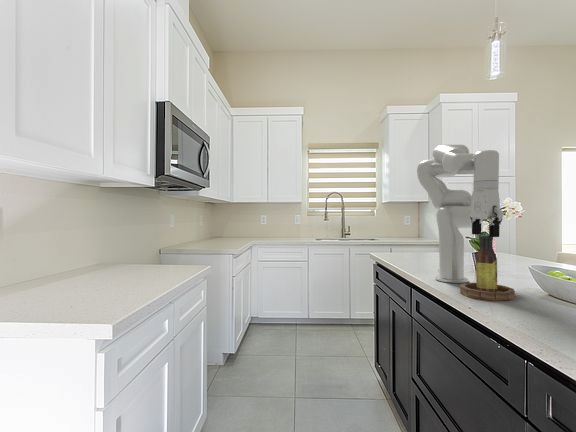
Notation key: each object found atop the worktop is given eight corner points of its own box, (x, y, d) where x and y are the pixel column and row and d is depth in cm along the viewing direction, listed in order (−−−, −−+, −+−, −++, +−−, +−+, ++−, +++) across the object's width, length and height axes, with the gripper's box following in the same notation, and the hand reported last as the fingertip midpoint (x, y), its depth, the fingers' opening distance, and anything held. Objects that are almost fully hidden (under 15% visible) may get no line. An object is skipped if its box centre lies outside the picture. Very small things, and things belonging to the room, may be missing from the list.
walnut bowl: (451, 289, 121) (451, 282, 121) (493, 289, 122) (493, 282, 122) (477, 301, 105) (477, 293, 105) (526, 300, 106) (526, 292, 106)
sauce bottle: (500, 295, 110) (501, 236, 109) (480, 294, 111) (480, 236, 111) (492, 290, 116) (492, 235, 116) (473, 290, 117) (473, 234, 117)
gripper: (461, 187, 122) (460, 233, 123) (491, 185, 105) (490, 238, 105) (481, 187, 122) (480, 233, 123) (514, 185, 105) (513, 238, 106)
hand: (484, 235), depth 114 cm, fingers open, 9 cm apart
